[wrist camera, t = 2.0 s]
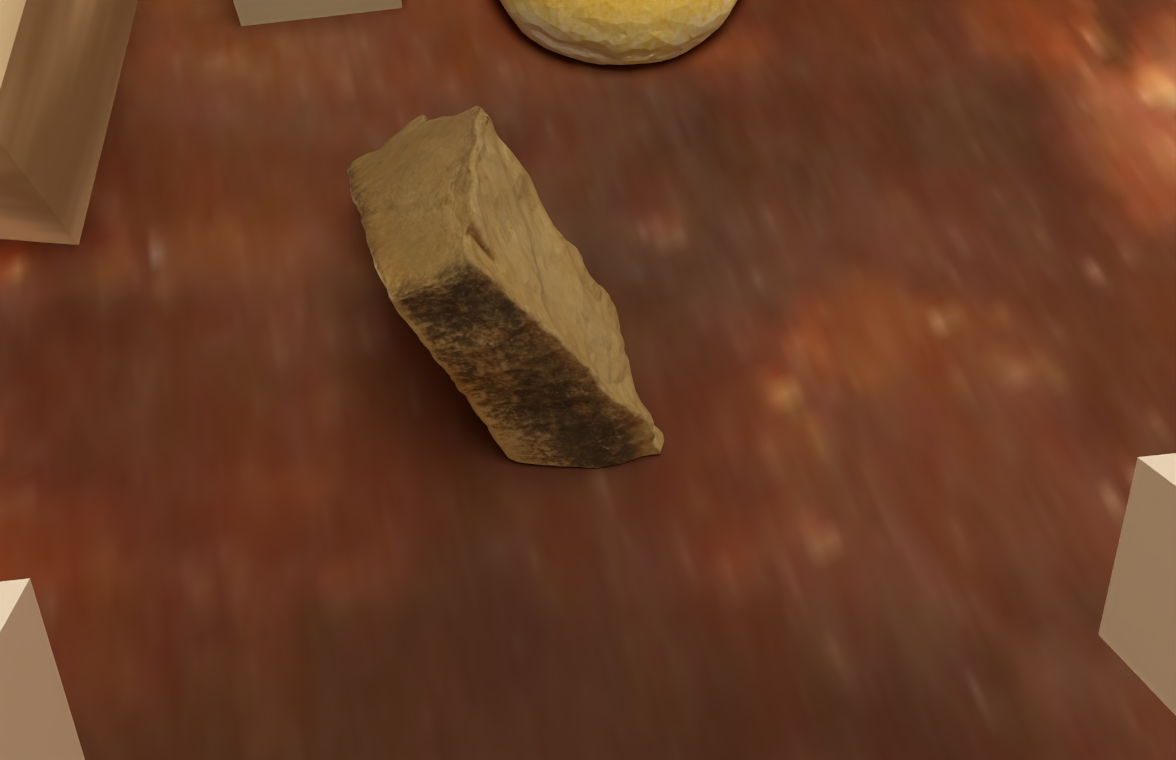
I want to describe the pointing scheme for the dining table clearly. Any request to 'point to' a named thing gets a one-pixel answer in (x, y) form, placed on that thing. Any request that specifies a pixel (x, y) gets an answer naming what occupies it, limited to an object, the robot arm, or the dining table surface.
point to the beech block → (55, 110)
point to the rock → (500, 294)
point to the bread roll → (618, 27)
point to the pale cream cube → (304, 9)
